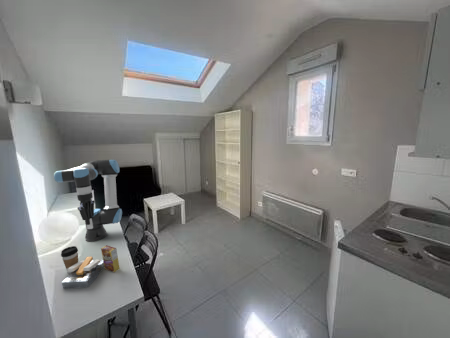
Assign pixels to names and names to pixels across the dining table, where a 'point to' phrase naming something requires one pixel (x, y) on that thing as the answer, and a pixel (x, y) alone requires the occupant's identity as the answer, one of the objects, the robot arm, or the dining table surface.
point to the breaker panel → (83, 277)
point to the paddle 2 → (92, 265)
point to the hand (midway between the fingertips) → (90, 228)
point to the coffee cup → (69, 256)
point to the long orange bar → (84, 265)
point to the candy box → (110, 258)
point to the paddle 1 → (75, 266)
